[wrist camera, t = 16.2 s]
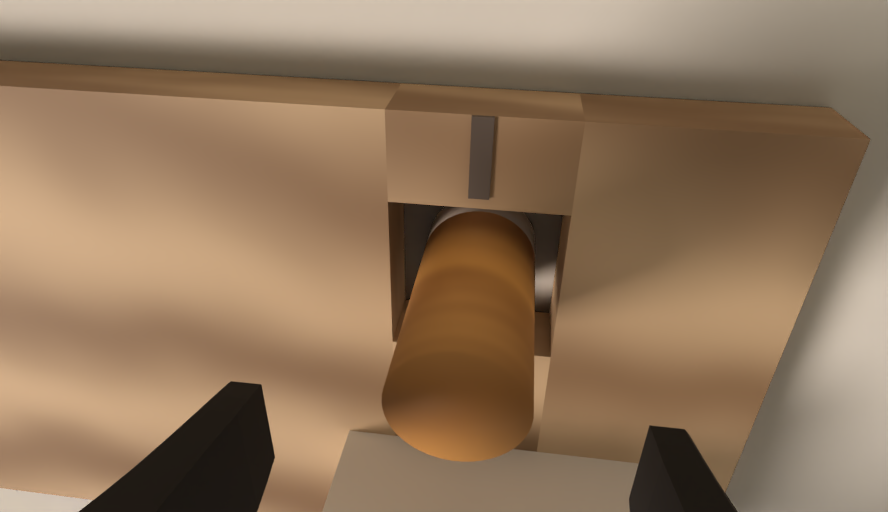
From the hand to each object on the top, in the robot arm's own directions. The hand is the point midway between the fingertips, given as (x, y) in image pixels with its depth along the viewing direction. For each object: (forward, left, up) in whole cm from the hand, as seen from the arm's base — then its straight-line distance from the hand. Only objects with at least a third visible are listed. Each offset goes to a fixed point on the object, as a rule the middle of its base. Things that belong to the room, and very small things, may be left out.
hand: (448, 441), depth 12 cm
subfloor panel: (-3, +6, -7) cm, 10 cm away
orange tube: (0, 0, -7) cm, 7 cm away
